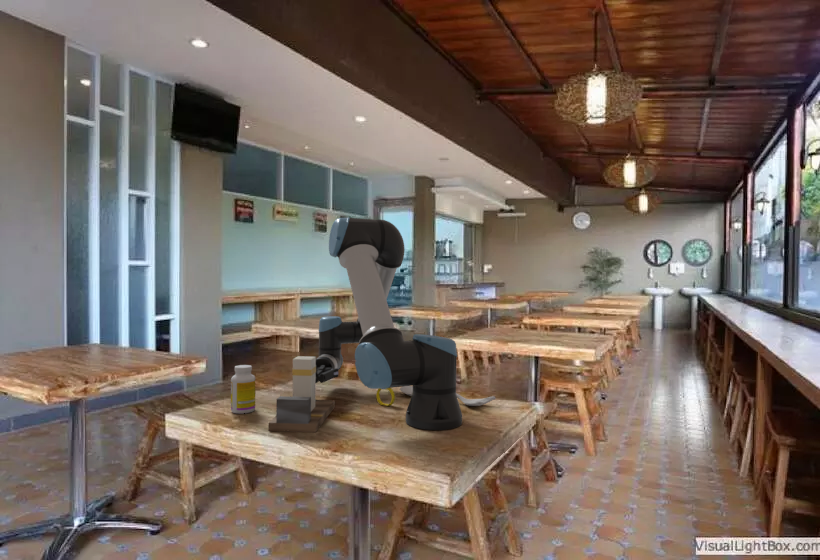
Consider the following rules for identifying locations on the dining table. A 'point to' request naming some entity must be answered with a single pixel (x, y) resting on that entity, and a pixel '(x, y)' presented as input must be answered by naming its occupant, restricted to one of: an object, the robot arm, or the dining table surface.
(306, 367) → the banded white pillar
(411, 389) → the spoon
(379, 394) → the yellow ring
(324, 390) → the dining table surface
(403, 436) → the dining table surface
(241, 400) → the supplement bottle
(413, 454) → the dining table surface
